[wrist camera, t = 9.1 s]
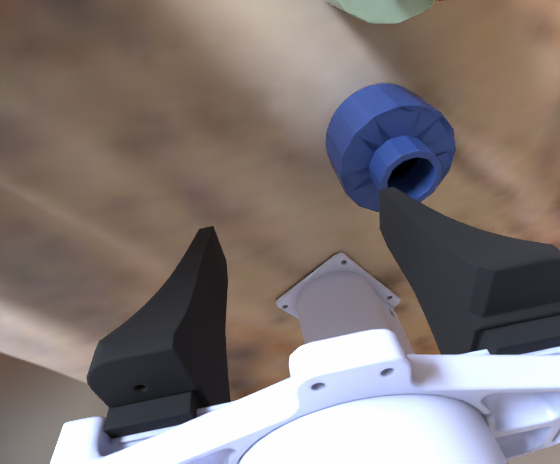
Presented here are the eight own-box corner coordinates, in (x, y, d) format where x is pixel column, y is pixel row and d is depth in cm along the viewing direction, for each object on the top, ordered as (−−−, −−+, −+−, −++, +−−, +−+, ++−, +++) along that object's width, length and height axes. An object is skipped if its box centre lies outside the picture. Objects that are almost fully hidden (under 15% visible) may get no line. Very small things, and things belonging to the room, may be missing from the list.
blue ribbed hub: (442, 132, 25) (494, 175, 20) (364, 195, 28) (394, 248, 23) (387, 58, 22) (434, 88, 17) (304, 138, 24) (324, 184, 19)
